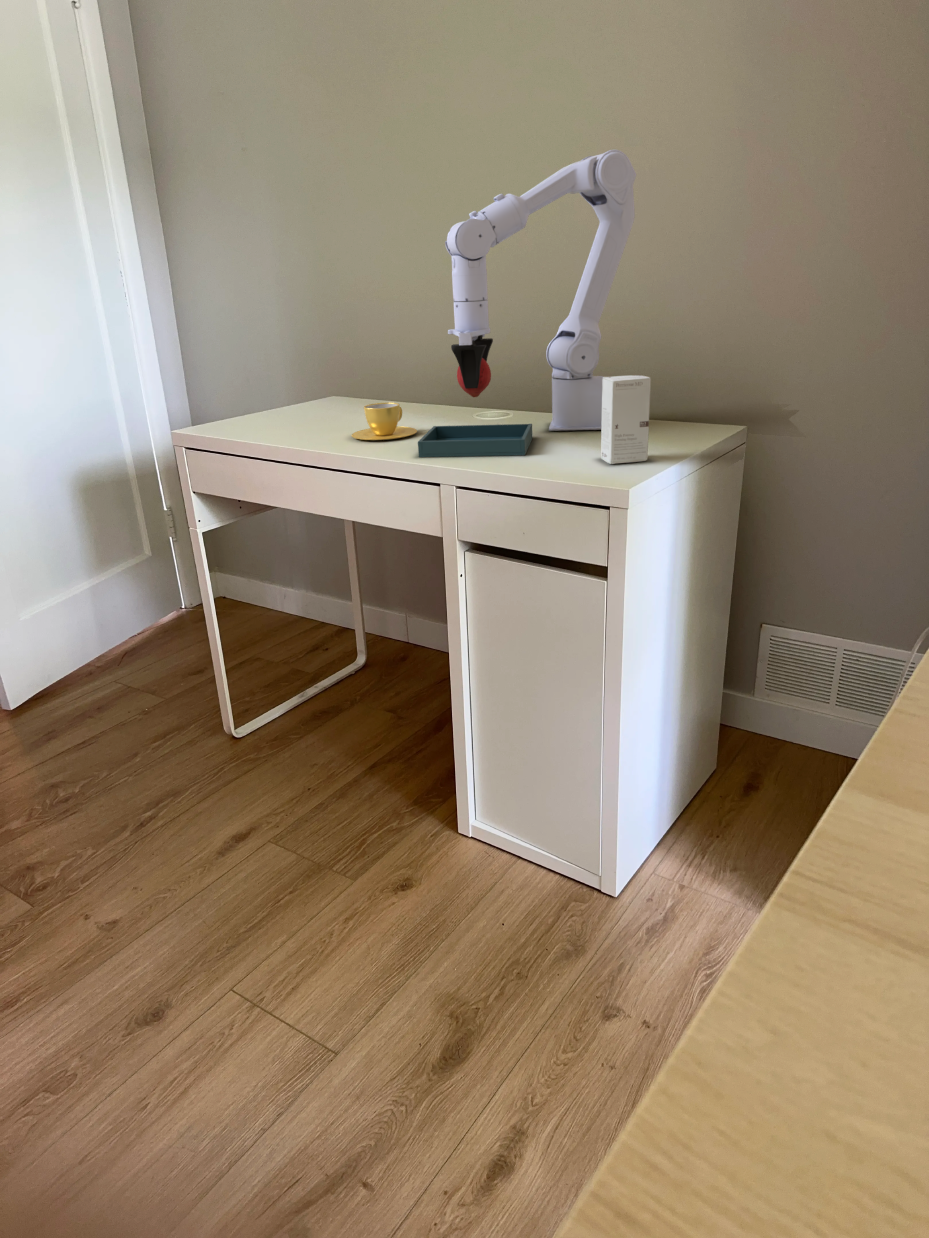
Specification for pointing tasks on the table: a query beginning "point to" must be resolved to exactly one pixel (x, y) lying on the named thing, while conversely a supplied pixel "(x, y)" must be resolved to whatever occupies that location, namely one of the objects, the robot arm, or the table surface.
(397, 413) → the cup
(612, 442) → the cosmetic box
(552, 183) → the robot arm
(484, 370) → the onion
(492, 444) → the tray
